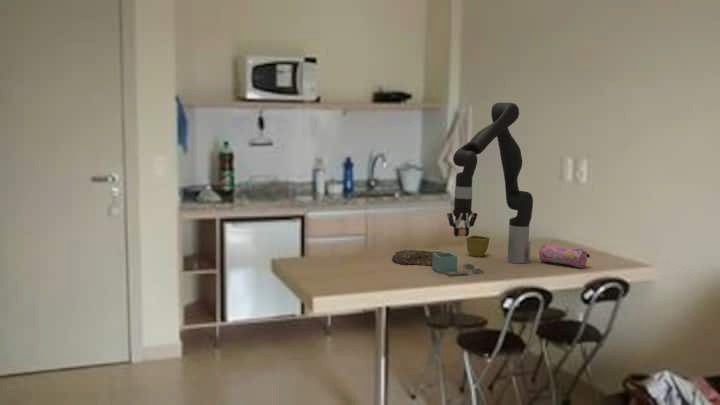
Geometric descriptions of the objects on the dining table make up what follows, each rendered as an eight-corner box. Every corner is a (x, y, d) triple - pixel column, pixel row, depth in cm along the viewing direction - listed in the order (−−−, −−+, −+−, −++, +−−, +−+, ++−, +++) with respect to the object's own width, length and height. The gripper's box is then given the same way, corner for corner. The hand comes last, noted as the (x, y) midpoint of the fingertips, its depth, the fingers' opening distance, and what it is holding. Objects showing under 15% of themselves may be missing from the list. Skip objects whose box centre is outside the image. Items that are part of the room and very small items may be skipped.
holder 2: (479, 271, 320) (479, 268, 320) (483, 273, 317) (483, 270, 317) (471, 271, 319) (471, 269, 319) (475, 273, 316) (475, 270, 316)
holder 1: (470, 266, 329) (470, 264, 329) (474, 268, 325) (474, 265, 325) (463, 267, 328) (463, 264, 328) (466, 268, 324) (466, 266, 324)
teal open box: (449, 268, 325) (449, 252, 324) (456, 272, 317) (457, 256, 316) (432, 269, 323) (432, 253, 322) (439, 273, 315) (439, 257, 314)
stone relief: (396, 244, 356) (458, 248, 350) (396, 253, 356) (458, 257, 351) (388, 255, 330) (455, 259, 325) (388, 265, 331) (454, 269, 325)
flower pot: (489, 255, 354) (490, 237, 353) (482, 258, 347) (482, 239, 345) (472, 253, 359) (473, 235, 357) (465, 256, 351) (465, 237, 350)
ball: (463, 235, 319) (464, 226, 318) (467, 236, 315) (468, 227, 314) (455, 235, 317) (455, 226, 317) (459, 237, 314) (459, 227, 313)
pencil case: (589, 267, 333) (590, 247, 332) (581, 270, 326) (583, 250, 325) (545, 260, 346) (546, 241, 345) (537, 263, 339) (538, 244, 338)
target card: (463, 272, 317) (463, 270, 317) (468, 275, 313) (468, 272, 312) (444, 273, 315) (444, 271, 315) (449, 276, 310) (449, 274, 310)
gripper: (474, 195, 320) (472, 234, 322) (444, 195, 315) (442, 235, 318) (482, 197, 313) (479, 237, 315) (451, 198, 308) (449, 238, 310)
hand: (461, 236), depth 316 cm, fingers closed on ball, 4 cm apart
